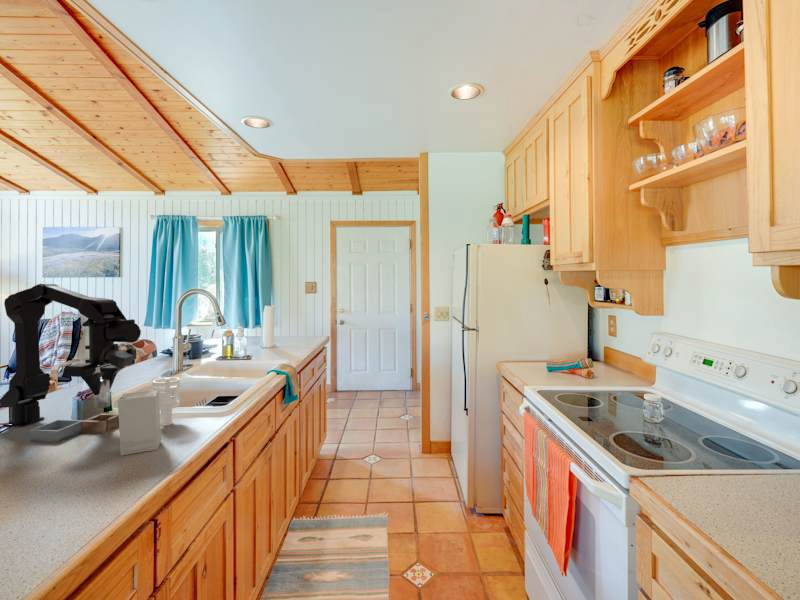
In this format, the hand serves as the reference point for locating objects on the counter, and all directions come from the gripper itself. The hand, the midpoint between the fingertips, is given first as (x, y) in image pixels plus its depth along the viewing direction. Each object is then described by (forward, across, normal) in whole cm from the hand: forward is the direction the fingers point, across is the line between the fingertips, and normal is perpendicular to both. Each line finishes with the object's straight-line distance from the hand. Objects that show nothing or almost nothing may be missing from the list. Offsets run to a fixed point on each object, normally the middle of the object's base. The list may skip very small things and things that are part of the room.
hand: (102, 393), depth 108 cm
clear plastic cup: (+11, +4, -17) cm, 20 cm away
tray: (+10, -6, +7) cm, 14 cm away
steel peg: (+4, 0, 0) cm, 4 cm away
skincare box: (+11, -12, -22) cm, 27 cm away
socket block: (+10, 0, 0) cm, 11 cm away
